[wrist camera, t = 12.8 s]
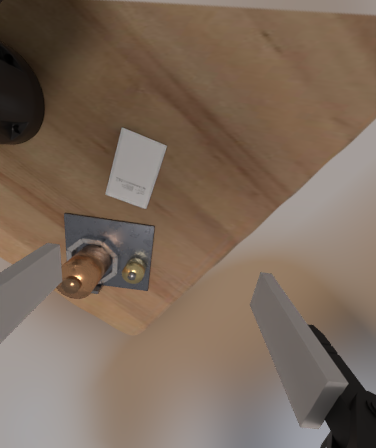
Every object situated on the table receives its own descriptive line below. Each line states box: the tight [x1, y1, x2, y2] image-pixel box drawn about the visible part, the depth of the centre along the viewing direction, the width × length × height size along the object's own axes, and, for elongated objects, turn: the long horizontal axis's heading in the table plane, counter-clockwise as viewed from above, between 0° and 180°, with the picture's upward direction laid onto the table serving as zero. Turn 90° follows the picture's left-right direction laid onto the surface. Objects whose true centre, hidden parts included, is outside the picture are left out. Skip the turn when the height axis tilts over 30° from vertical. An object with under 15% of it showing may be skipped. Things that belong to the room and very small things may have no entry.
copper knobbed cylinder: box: [56, 245, 111, 299], centre depth 38 cm, size 7×7×9 cm
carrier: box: [64, 213, 155, 294], centre depth 40 cm, size 18×16×4 cm
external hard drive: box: [105, 127, 167, 209], centre depth 36 cm, size 2×8×12 cm
